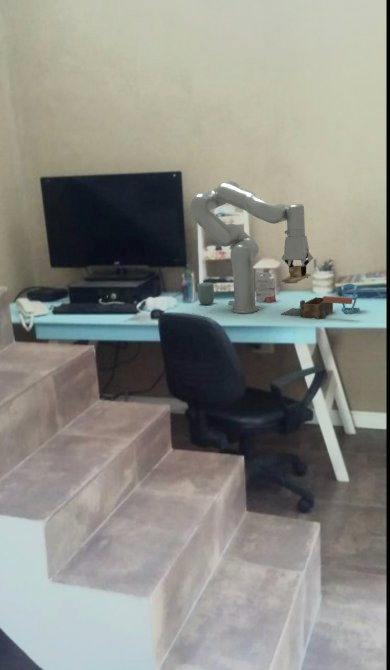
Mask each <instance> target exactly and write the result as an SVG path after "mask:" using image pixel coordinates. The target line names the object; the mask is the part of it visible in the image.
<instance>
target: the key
mask: <svg viewBox="0 0 390 670" xmlns="http://www.w3.org/2000/svg"><path fill="white" fill-rule="evenodd" d="M322 298H323V302H324V303H333V304H341V305H342V304H345V305H353V299H352V297H342V296H333V295H328V296H327V295H324V296H322Z"/></svg>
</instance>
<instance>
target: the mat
mask: <svg viewBox="0 0 390 670" xmlns="http://www.w3.org/2000/svg"><path fill="white" fill-rule="evenodd" d="M280 316H292V317H300V307H299V308H298V307H297V308H296V307H292V308H289V309H288V310H286V311H284V312H282V313H280Z"/></svg>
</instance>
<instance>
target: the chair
mask: <svg viewBox="0 0 390 670" xmlns="http://www.w3.org/2000/svg"><path fill="white" fill-rule="evenodd" d="M340 287H341V288H340V289H341V297H352V301H353V302H352V306H351V307H346V304H341V305H342V307H341V311H342V312H343V314H344V315H347V313H348V312H347V311H350V312H349V314H350V315H353V314H355V313H356V311H357V312H359V311H360V310H361V309H360V307H355V305H356V303H357V299H358V296H359V294H357V289H358V288H359V287H358V285H355V284H353V283H346V284H344V285H343V284H342V286H340ZM346 289H352V290H353V294H348V293H346Z"/></svg>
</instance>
